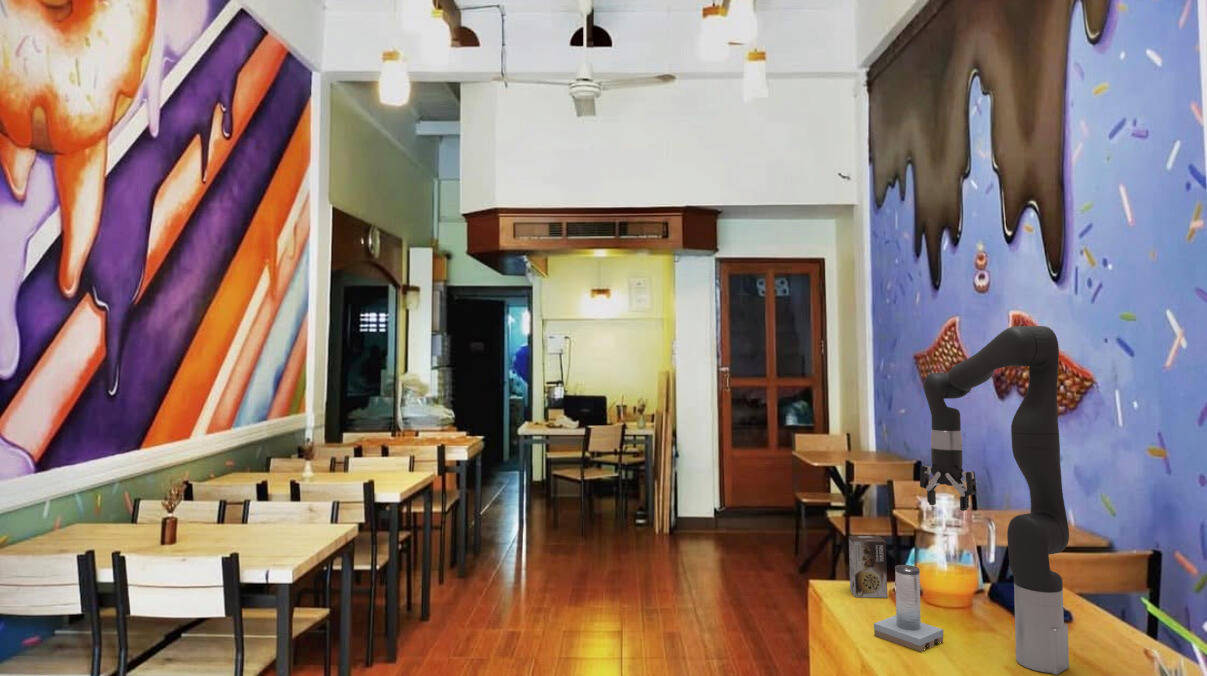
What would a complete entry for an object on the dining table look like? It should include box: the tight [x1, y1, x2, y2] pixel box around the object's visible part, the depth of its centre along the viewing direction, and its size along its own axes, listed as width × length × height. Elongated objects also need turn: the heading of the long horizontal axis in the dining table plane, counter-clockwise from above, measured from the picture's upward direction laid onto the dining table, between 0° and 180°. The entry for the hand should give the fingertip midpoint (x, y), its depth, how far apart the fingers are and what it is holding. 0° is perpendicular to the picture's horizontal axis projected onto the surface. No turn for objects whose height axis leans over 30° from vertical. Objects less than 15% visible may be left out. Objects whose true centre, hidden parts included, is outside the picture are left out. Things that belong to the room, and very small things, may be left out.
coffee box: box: [848, 535, 888, 599], centre depth 201 cm, size 9×6×16 cm
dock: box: [873, 614, 944, 652], centre depth 169 cm, size 12×10×3 cm
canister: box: [894, 564, 922, 631], centre depth 169 cm, size 6×6×14 cm
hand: (947, 507), depth 186 cm, fingers open, 8 cm apart
